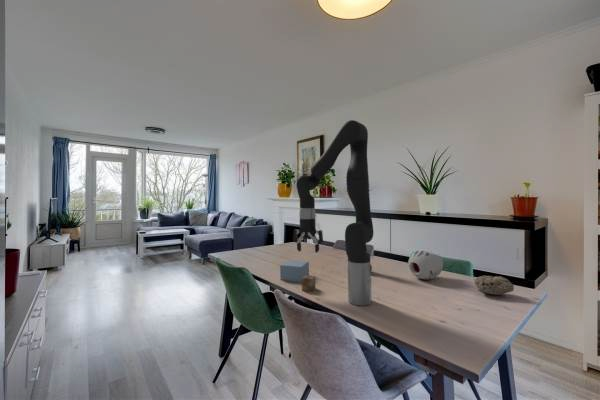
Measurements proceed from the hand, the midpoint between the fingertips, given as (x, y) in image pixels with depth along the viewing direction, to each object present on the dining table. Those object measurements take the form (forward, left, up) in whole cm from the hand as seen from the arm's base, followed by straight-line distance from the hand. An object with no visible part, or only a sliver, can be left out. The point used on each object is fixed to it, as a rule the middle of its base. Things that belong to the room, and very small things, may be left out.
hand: (308, 251), depth 129 cm
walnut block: (0, 0, -18) cm, 18 cm away
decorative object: (-54, -35, -18) cm, 67 cm away
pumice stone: (-79, -19, -18) cm, 83 cm away
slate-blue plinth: (+13, -15, -18) cm, 27 cm away
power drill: (-17, -39, -18) cm, 46 cm away
